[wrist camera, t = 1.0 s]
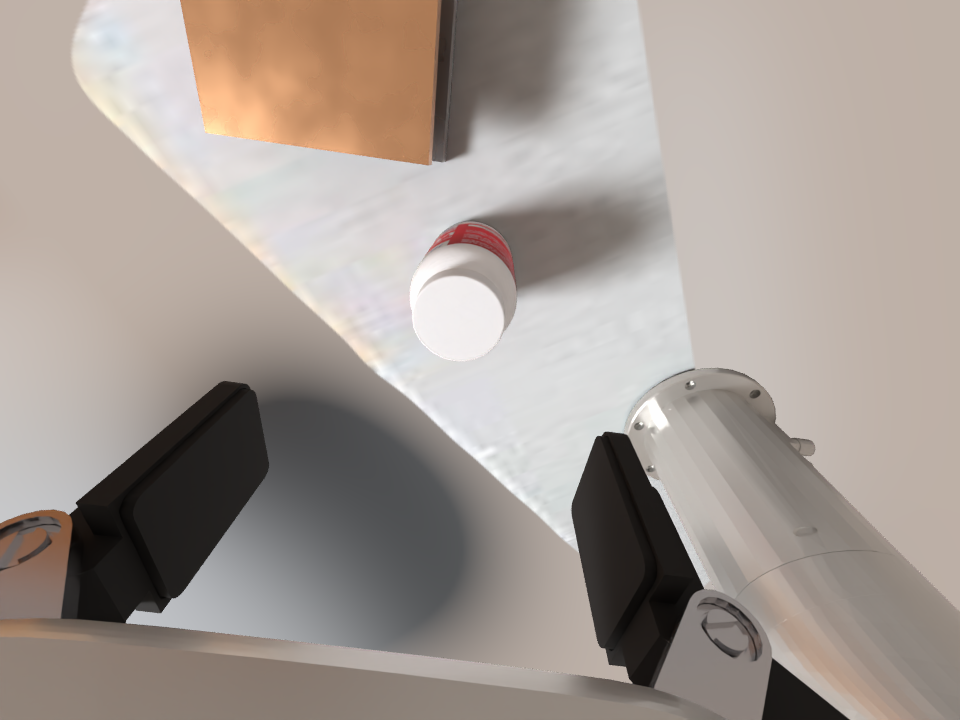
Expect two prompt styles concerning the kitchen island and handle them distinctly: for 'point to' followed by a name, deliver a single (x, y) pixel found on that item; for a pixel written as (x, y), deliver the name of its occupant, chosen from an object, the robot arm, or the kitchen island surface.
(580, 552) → the robot arm
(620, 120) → the kitchen island surface
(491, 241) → the pill bottle
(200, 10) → the stand
